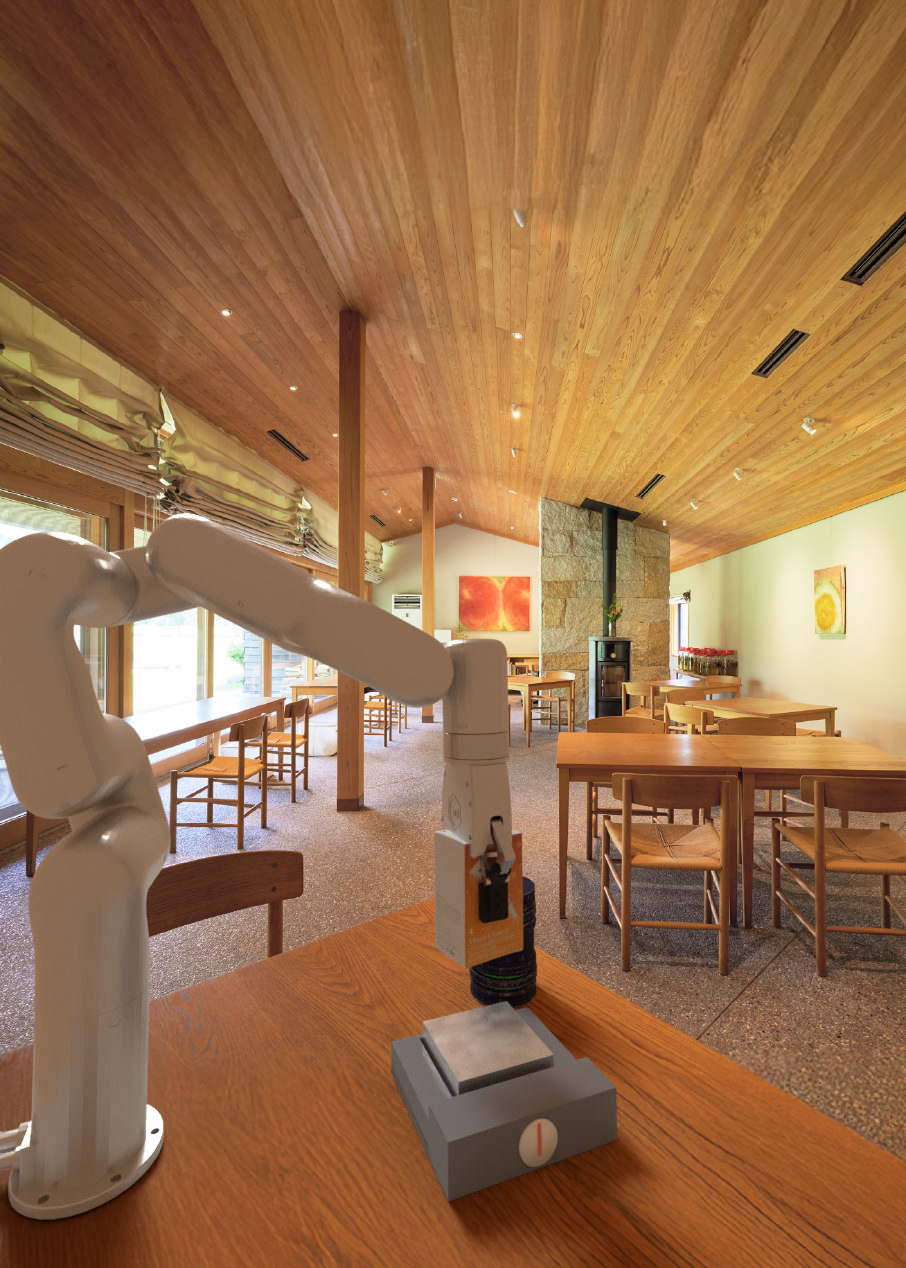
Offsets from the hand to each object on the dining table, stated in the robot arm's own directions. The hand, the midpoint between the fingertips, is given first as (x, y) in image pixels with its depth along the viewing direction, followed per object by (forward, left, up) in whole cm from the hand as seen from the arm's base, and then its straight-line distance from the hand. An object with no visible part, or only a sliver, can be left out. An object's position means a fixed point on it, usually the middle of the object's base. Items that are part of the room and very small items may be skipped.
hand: (478, 905), depth 67 cm
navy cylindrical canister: (+12, +18, -20) cm, 29 cm away
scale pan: (+1, 0, -18) cm, 18 cm away
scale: (+1, -2, -20) cm, 20 cm away
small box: (0, 0, -5) cm, 5 cm away
